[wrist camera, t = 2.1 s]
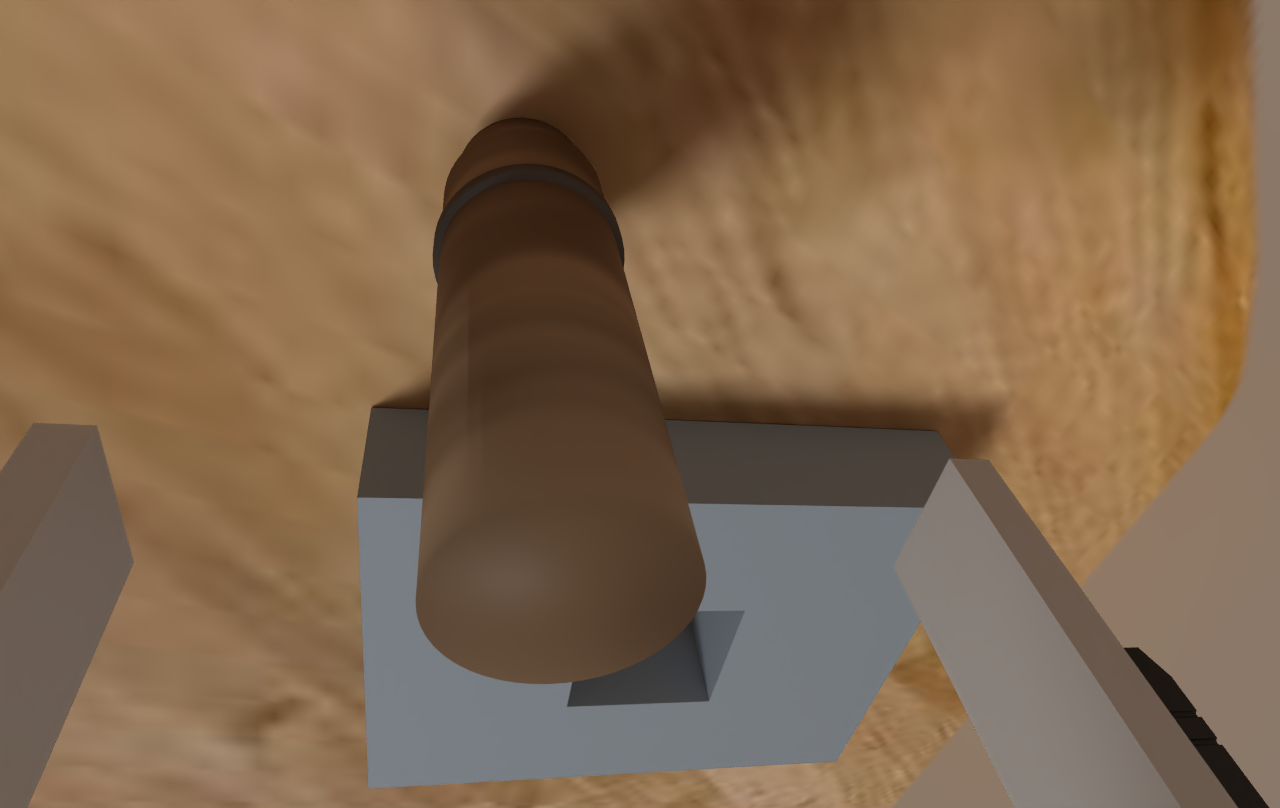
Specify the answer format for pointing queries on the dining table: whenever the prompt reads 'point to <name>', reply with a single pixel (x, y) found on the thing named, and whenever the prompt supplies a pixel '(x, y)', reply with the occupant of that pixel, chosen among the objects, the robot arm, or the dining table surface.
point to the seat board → (703, 652)
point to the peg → (545, 431)
